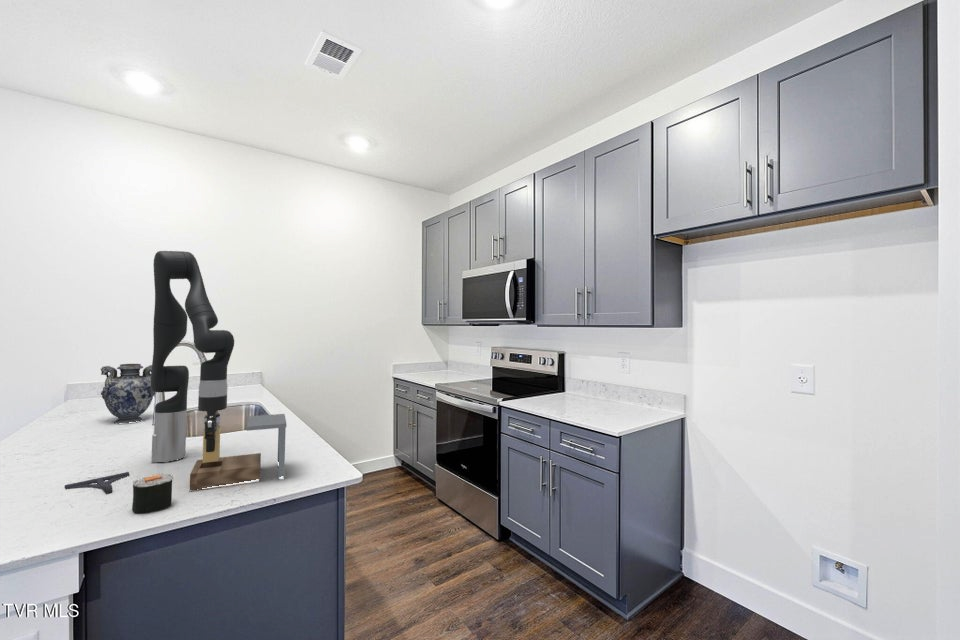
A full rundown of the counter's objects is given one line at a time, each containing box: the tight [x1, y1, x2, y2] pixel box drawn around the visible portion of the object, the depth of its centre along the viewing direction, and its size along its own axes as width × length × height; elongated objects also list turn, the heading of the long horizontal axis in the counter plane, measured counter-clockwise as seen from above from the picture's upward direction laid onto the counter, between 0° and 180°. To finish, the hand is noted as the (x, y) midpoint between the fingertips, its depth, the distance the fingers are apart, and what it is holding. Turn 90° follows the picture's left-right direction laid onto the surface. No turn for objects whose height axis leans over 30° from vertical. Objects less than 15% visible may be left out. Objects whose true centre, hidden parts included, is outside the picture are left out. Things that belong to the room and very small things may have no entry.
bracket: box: [64, 471, 130, 495], centre depth 121 cm, size 14×15×3 cm
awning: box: [246, 413, 287, 477], centre depth 135 cm, size 11×16×18 cm
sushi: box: [131, 473, 174, 515], centre depth 109 cm, size 8×8×8 cm
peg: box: [202, 425, 221, 463], centre depth 128 cm, size 4×4×10 cm
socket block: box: [189, 452, 262, 491], centre depth 130 cm, size 18×14×5 cm
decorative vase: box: [100, 363, 156, 424], centre depth 201 cm, size 21×19×28 cm
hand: (211, 449), depth 128 cm, fingers closed on peg, 4 cm apart
